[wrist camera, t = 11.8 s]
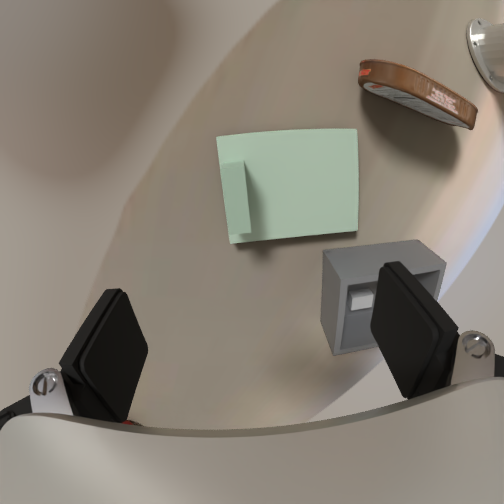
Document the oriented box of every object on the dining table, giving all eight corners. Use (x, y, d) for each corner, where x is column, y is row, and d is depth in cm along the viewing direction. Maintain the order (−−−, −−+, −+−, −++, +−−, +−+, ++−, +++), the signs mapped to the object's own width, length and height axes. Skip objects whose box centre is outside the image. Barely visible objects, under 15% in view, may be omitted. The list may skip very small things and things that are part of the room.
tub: (417, 239, 33) (446, 262, 27) (405, 305, 38) (426, 333, 31) (322, 250, 33) (340, 279, 27) (320, 320, 38) (333, 355, 32)
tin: (448, 108, 25) (492, 111, 18) (444, 129, 27) (489, 137, 19) (348, 64, 24) (382, 48, 16) (344, 89, 25) (379, 79, 18)
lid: (349, 128, 27) (375, 130, 21) (350, 224, 32) (373, 246, 26) (217, 136, 28) (211, 138, 22) (230, 236, 32) (228, 262, 26)
